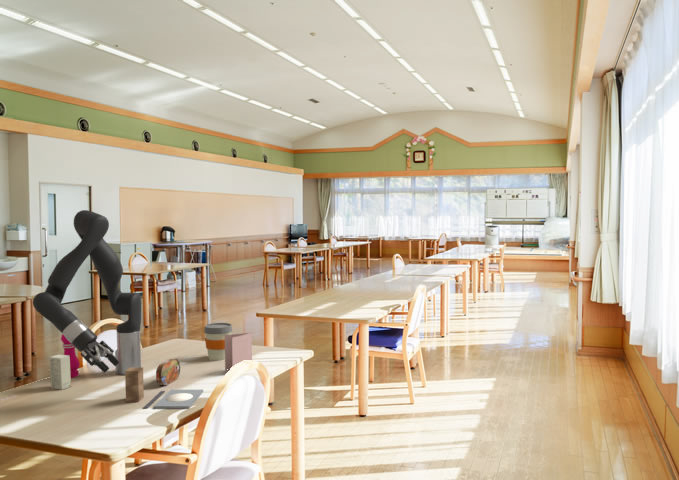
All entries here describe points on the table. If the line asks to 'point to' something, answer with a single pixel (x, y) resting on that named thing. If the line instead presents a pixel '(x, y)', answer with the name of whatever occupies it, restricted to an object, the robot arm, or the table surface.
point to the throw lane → (175, 399)
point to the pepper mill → (71, 356)
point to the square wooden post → (134, 384)
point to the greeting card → (237, 349)
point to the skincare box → (60, 371)
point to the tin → (168, 372)
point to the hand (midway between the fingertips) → (112, 367)
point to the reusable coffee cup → (216, 339)
